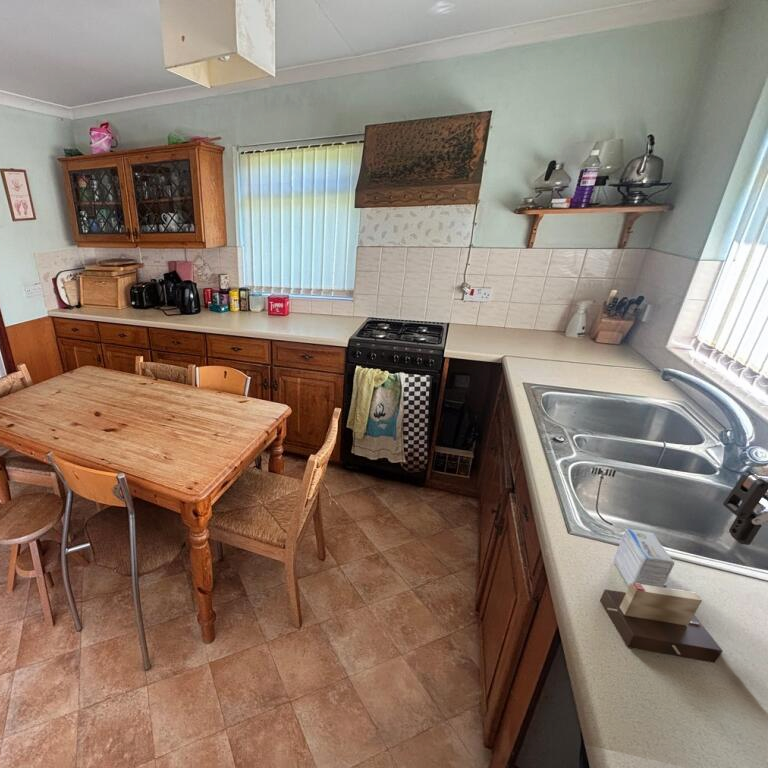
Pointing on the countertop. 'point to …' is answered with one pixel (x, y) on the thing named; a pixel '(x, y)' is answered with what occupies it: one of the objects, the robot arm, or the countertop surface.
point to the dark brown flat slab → (661, 633)
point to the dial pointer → (660, 604)
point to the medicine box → (642, 559)
